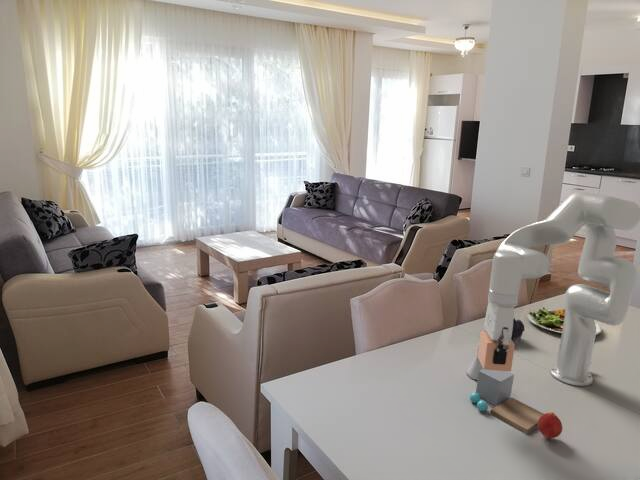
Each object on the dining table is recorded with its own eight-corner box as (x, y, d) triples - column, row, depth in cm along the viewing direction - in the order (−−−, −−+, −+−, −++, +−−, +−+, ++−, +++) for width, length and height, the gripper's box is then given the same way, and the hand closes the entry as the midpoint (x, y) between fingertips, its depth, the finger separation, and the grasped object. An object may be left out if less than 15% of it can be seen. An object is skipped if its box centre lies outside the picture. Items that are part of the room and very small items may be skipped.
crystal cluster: (478, 340, 183) (482, 317, 180) (491, 327, 193) (495, 305, 190) (512, 354, 175) (518, 331, 172) (524, 339, 185) (530, 317, 182)
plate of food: (514, 323, 200) (516, 309, 198) (542, 308, 218) (544, 295, 217) (585, 347, 180) (588, 333, 178) (610, 329, 198) (613, 315, 197)
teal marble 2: (478, 396, 137) (477, 403, 139) (476, 405, 135) (475, 412, 136) (488, 399, 136) (487, 406, 138) (487, 407, 134) (486, 414, 135)
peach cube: (503, 358, 136) (506, 332, 134) (510, 371, 129) (514, 344, 127) (477, 356, 136) (480, 331, 134) (483, 369, 130) (487, 342, 128)
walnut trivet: (511, 400, 142) (511, 397, 142) (547, 419, 134) (547, 415, 133) (490, 413, 135) (490, 409, 135) (526, 433, 127) (527, 429, 127)
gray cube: (489, 387, 149) (492, 364, 147) (510, 398, 143) (514, 374, 141) (475, 394, 144) (478, 370, 142) (496, 406, 139) (500, 381, 137)
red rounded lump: (531, 431, 128) (535, 405, 126) (551, 431, 129) (556, 404, 127) (543, 445, 122) (547, 418, 120) (564, 445, 123) (569, 418, 121)
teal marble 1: (466, 394, 141) (471, 399, 142) (471, 402, 138) (476, 406, 140) (474, 388, 140) (478, 393, 142) (479, 395, 138) (484, 400, 139)
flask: (490, 383, 152) (494, 354, 149) (467, 379, 153) (471, 351, 150) (487, 371, 158) (491, 344, 156) (465, 368, 160) (468, 341, 157)
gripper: (481, 285, 136) (474, 341, 141) (497, 308, 120) (489, 371, 124) (507, 286, 136) (500, 343, 140) (528, 310, 119) (518, 373, 124)
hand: (495, 356), depth 132 cm, fingers closed on peach cube, 7 cm apart
